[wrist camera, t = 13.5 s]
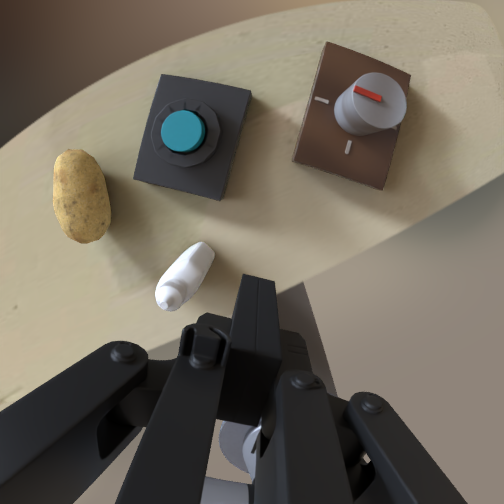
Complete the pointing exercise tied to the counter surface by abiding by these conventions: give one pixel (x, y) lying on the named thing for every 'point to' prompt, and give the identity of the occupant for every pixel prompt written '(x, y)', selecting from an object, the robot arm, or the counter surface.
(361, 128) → the dial
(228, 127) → the push button box
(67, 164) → the potato
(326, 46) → the dial panel
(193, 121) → the teal round puck
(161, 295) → the eye dropper bottle
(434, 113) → the counter surface
